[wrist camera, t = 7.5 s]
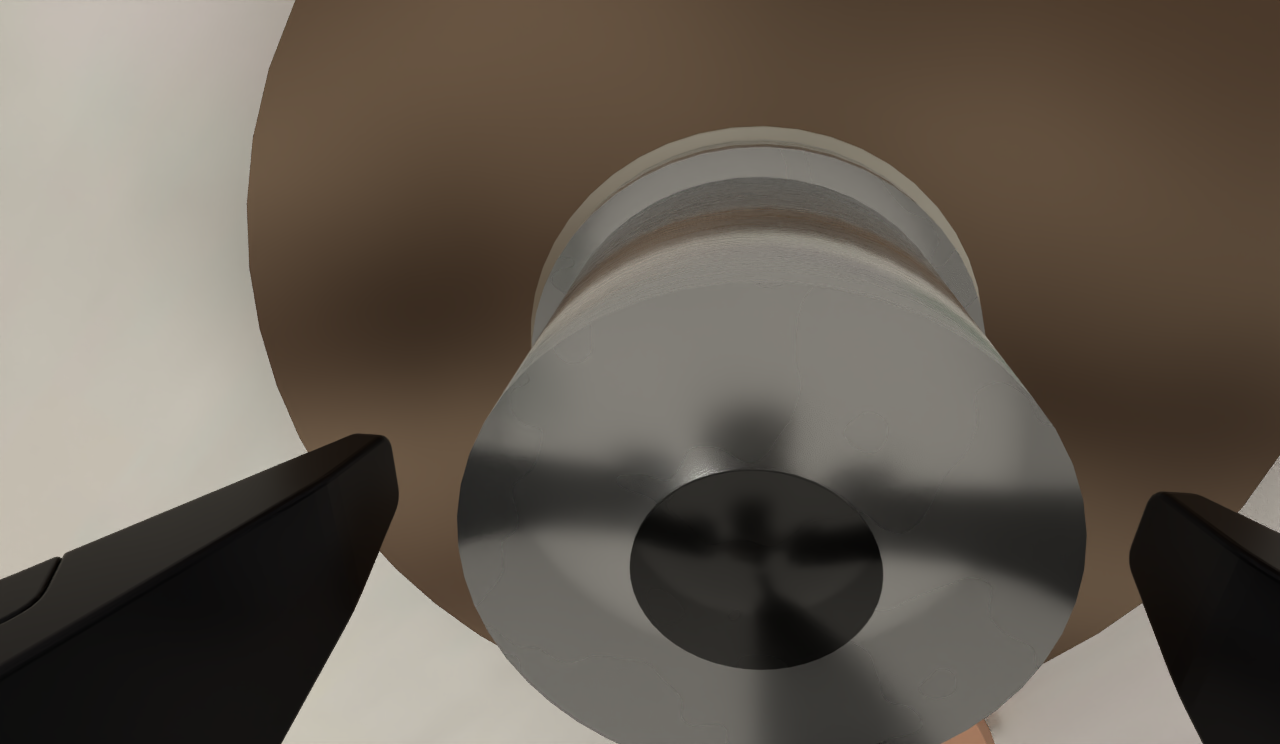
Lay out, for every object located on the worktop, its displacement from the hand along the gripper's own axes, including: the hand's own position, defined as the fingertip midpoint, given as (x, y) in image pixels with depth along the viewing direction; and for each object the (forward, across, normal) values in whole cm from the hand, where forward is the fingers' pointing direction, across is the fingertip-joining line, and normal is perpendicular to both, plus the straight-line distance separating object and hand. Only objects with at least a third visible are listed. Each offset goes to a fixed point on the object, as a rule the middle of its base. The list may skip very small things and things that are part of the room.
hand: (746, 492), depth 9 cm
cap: (+4, 0, 0) cm, 4 cm away
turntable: (+6, 0, 0) cm, 6 cm away
